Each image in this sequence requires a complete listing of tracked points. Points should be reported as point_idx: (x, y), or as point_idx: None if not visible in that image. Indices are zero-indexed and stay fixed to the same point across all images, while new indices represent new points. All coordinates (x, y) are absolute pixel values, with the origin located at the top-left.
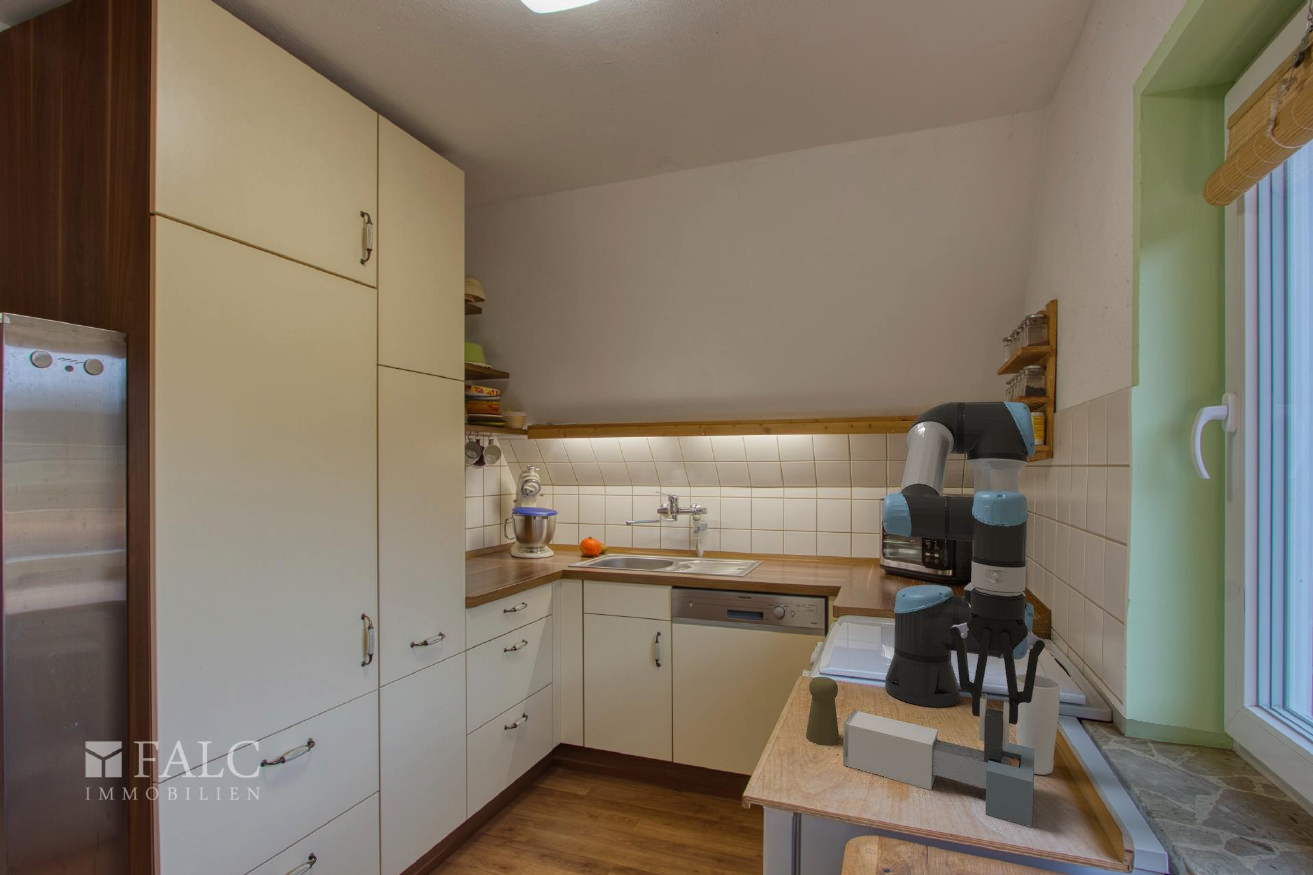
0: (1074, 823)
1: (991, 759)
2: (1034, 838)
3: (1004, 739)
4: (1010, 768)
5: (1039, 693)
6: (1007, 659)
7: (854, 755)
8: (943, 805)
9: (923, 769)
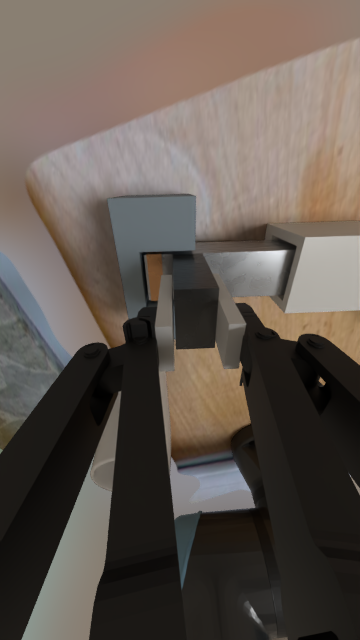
0: (81, 248)
1: (190, 256)
2: (115, 159)
3: (168, 279)
4: (154, 239)
5: None
6: (149, 560)
7: None
8: (250, 181)
9: (292, 227)
